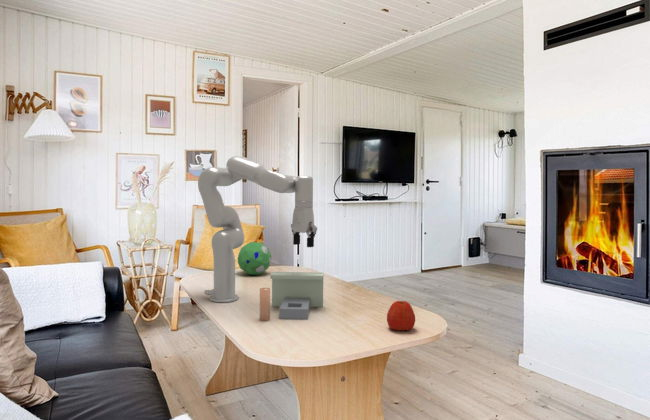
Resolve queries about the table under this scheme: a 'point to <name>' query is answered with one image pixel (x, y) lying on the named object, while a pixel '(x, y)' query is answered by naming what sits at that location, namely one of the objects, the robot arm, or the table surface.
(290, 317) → the socket
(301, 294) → the pale green rectangular block
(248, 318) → the table surface
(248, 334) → the table surface
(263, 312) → the peg
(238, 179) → the robot arm
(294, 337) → the table surface
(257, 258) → the decorative sphere
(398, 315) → the apple
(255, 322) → the table surface
